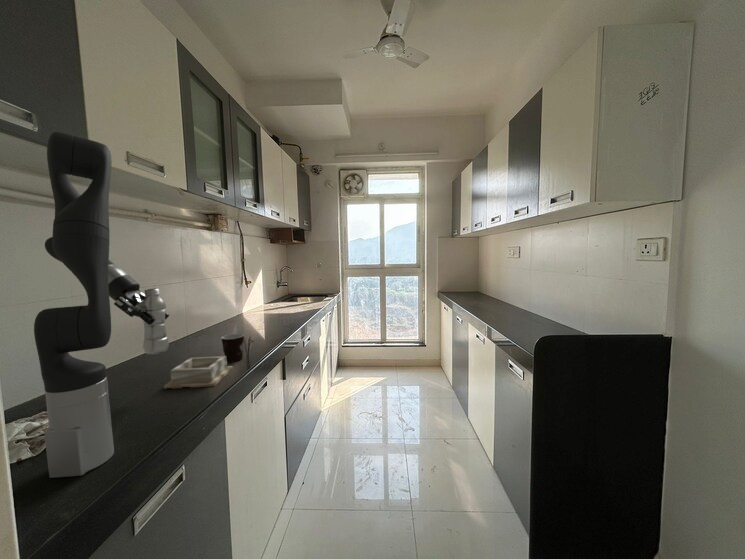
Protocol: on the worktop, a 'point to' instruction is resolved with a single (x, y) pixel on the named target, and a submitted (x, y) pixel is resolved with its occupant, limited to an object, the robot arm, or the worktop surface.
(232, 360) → the coffee mug
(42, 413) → the worktop surface
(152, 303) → the plastic bottle
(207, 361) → the plate
